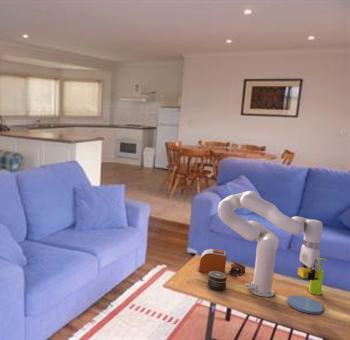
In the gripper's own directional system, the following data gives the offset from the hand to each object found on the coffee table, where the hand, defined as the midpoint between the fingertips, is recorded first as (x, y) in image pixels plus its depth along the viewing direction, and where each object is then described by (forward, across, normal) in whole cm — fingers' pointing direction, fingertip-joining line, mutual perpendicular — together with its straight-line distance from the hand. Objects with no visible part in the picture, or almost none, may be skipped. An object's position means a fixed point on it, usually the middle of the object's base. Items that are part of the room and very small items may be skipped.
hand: (307, 277), depth 192 cm
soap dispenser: (+15, -12, +14) cm, 24 cm away
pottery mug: (+14, -32, -23) cm, 42 cm away
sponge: (0, 0, 0) cm, 0 cm away
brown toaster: (+14, -36, -37) cm, 54 cm away
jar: (+14, -15, -42) cm, 46 cm away
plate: (+15, +2, -1) cm, 15 cm away
